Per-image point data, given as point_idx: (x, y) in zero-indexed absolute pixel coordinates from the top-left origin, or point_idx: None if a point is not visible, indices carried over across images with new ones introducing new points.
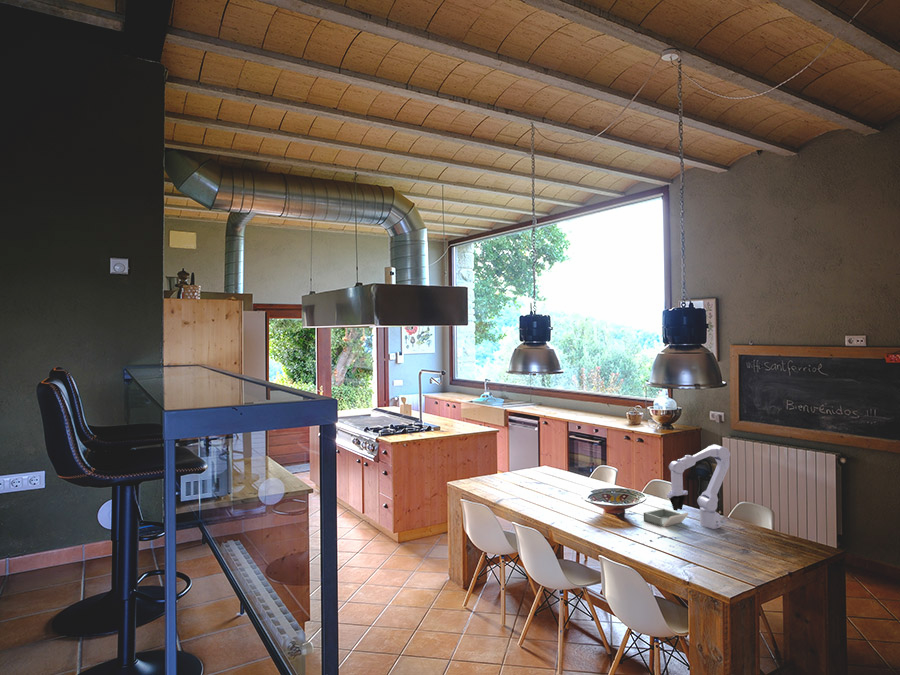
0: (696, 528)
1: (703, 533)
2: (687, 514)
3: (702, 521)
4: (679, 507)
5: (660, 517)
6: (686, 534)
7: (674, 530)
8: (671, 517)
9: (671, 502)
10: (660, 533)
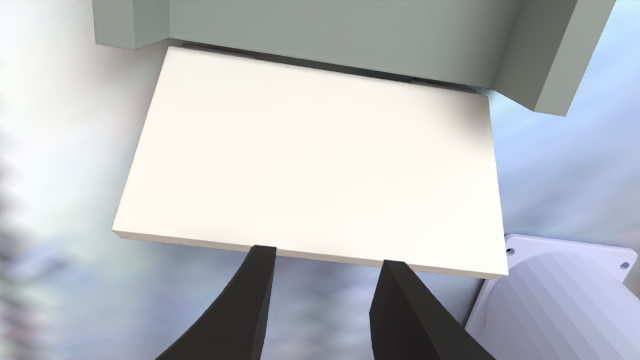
0: None
1: (342, 340)
2: (468, 274)
3: (516, 318)
4: (380, 312)
5: (127, 27)
6: (208, 284)
7: None
8: (130, 237)
9: (175, 352)
10: (3, 134)
